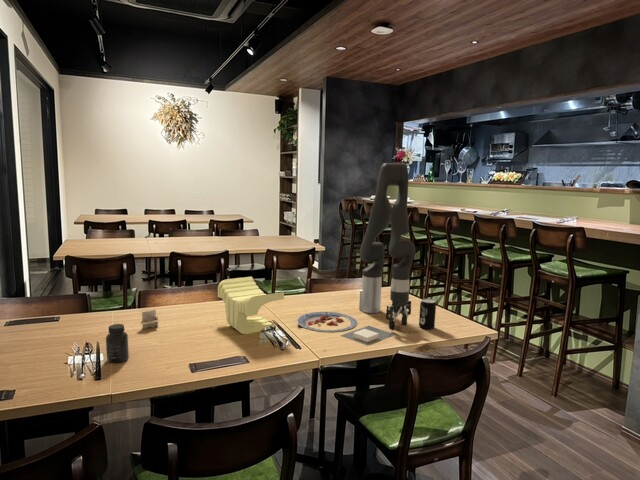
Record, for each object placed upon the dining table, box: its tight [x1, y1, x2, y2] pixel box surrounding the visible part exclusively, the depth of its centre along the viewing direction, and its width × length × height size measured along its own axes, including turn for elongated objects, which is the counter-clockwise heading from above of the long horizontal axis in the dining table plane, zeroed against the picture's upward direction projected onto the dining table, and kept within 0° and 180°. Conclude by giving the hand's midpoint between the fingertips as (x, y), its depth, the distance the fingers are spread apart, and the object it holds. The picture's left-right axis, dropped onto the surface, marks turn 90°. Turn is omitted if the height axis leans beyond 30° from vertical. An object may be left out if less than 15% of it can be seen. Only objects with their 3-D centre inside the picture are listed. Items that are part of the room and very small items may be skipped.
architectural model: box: [139, 309, 159, 329], centre depth 184 cm, size 3×7×7 cm, turn 129°
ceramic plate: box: [296, 311, 358, 333], centre depth 195 cm, size 26×26×3 cm
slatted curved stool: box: [217, 276, 285, 335], centre depth 188 cm, size 30×16×18 cm, turn 34°
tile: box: [353, 329, 379, 343], centre depth 176 cm, size 2×7×7 cm
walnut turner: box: [394, 322, 411, 334], centre depth 189 cm, size 13×6×4 cm, turn 45°
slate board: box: [340, 325, 397, 347], centre depth 180 cm, size 14×18×2 cm
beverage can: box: [418, 298, 437, 331], centre depth 195 cm, size 7×7×12 cm
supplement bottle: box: [105, 323, 130, 365], centre depth 153 cm, size 7×7×12 cm
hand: (398, 327), depth 188 cm, fingers open, 8 cm apart
